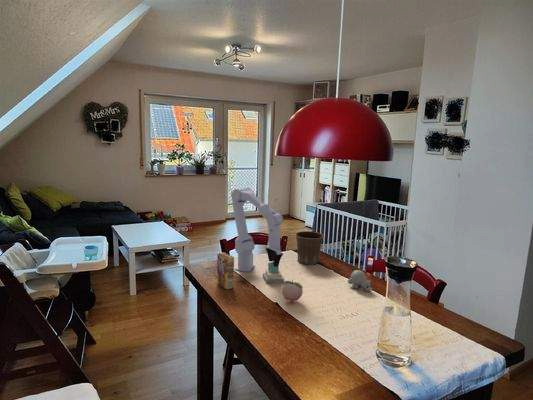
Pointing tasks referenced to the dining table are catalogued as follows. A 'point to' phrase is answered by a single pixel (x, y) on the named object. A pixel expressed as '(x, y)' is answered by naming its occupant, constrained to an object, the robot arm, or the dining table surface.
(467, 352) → the dining table surface
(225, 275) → the candy box
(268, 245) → the robot arm
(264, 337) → the dining table surface
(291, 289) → the decorative fruit
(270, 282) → the base slab
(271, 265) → the teal cube
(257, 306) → the dining table surface
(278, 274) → the top slab
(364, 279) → the chubby cartoon animal
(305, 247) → the plant pot
